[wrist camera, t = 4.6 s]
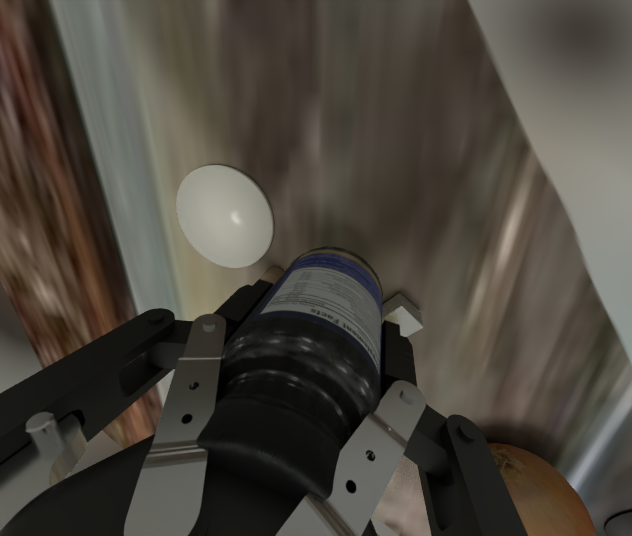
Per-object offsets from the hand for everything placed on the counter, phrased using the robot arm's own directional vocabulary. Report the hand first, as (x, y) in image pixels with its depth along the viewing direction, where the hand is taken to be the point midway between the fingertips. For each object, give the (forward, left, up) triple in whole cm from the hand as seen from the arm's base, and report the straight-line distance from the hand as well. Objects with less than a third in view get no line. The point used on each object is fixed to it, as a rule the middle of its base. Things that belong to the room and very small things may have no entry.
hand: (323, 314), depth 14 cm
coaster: (+11, -3, -9) cm, 14 cm away
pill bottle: (0, 0, -3) cm, 3 cm away
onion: (-16, +22, -9) cm, 29 cm away
